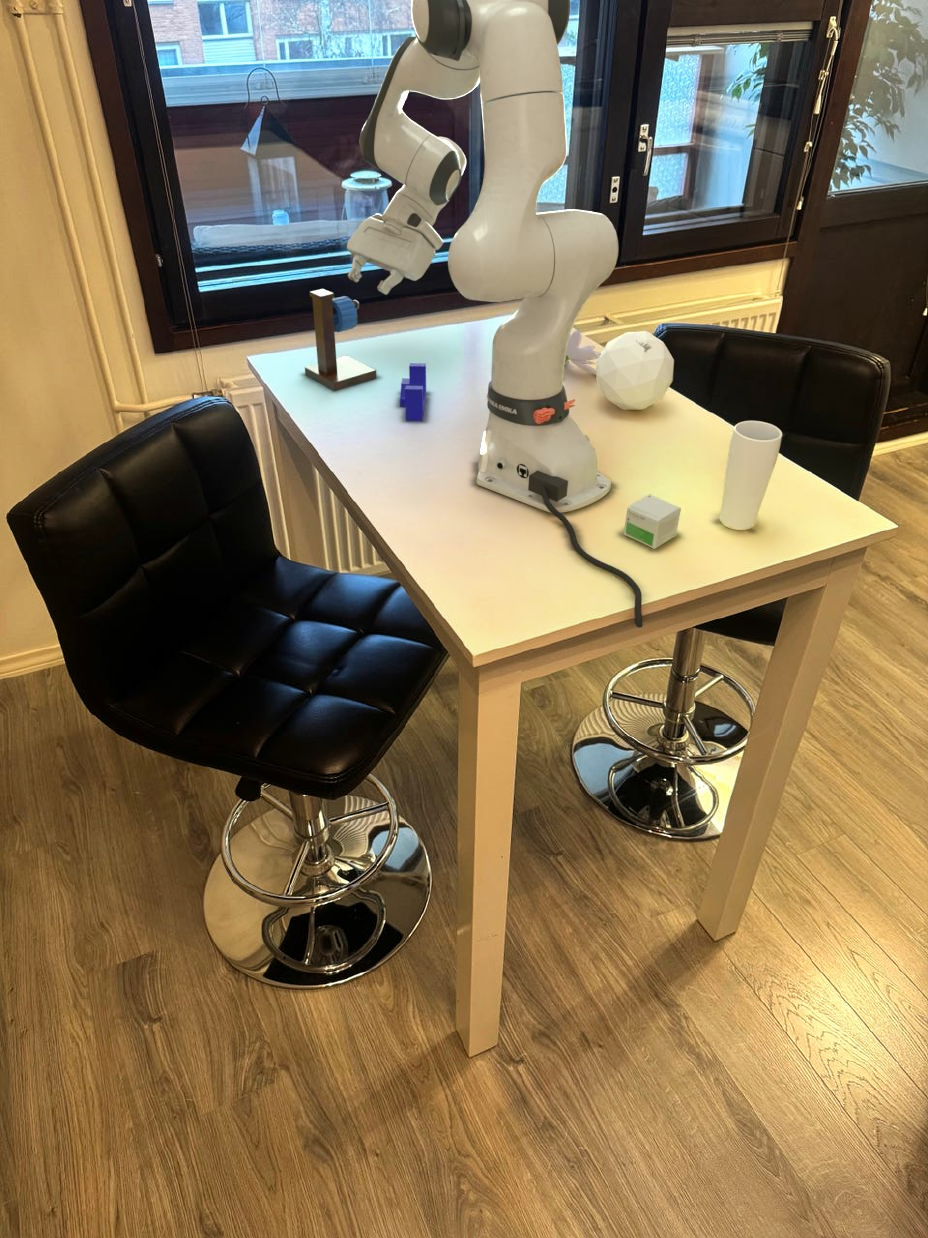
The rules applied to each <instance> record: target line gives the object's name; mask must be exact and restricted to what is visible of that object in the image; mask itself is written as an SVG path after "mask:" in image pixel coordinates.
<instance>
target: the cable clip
mask: <svg viewBox="0 0 928 1238" xmlns="http://www.w3.org/2000/svg"><path fill="white" fill-rule="evenodd" d="M408 368H409V370H408V372H409V373H408V374H409V375H408V376H409V378H408V377H407V378H403V377H402V378H401V382H400V394H399V397H400V398H399V407H400V408H405V422H424V421H423V420H424V414H425V407H426V399H427V362H426V363H425V362H424V363H423V362H409V366H408Z"/></svg>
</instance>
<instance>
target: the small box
mask: <svg viewBox="0 0 928 1238" xmlns="http://www.w3.org/2000/svg"><path fill="white" fill-rule="evenodd" d="M681 511H682V508H681V507H680V506H678V505H676V504H673V503H671V502H669V501H666V500H664V499H662V498H659V497H658V496H655V495H652V494H647V495H645V496H644V497H642V498H640V499H638V500H636V501H635V502H633V503H632V504H630V505H629V506H627V508H626V514H625V523H624V529H623V535H624V536H626V537H629V538H630V539H632V540H635V541H637V542H639V543H641V544H643V545H645V546H648V547H650V548H651V549H653V550H656V549H657V548H659V547H660V546H662V545H664V544H665V543H667V542H668V541H669V540H671V539H673V538H675V537H677V534H678V527H679V521H680V515H681Z"/></svg>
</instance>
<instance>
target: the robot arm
mask: <svg viewBox="0 0 928 1238" xmlns="http://www.w3.org/2000/svg"><path fill="white" fill-rule="evenodd" d="M410 13H411V21H412V25H413V29H414V34H415V36H408V37H407V38H406V39H405V40H404V41H403V42H402V43H401V44H400V45H399V47H398V48H397V49H396V51H395V53H394V55H393V56H392V58H391V60H390V63H389V64H388V67H387V69H386V72H385V75H384V77H383V80H382V82H381V85H380V87H379V90H378V93H377V96H376V98H375V101H374V104H373V106H372V109H371V111H370V114H369V115H368V116H367V117H368V118H367V119H366V121H365V123H364V124H363V127H362V129H361V132H360V136H359V139H358V140H359V141H358V143H359V148H360V151H361V154H362V157H363V159H364V161H365V163H367V164H368V165H370V166H372V167H374V168H376V169H378V170H380V171H382V172H384V173H385V174H387V175H389V176H391V177H392V178H393V179H395V180H396V181H398V182H399V183H401V184H402V186H401V188H399V189H398V190H397V191H396V192H395V194H394V196H393V197H392V198H391V200H390V202H389V203H388V205H387V206H386V208H385V209H384V211H383V213H382V214H381V213H375V214H373V215H371V216H369V217H367V218H365V219H364V220H363V221H362V222H361V223H360V225H359V226H358V227H357V228H356V229H355V231H354V232H353V233H352V235H351V236H350V238H349V240H348V241H347V242H346V250H347V251H348V252H349V253H350V254H351V255H352V256H353V258H352V263H351V269H350V271H349V272H348V274H347V277H348V279H349V280H350V281H351V282H354V283H358V282H359V281H360V279H361V278H362V277H363V275H362V273H361V271H362V267H363V268H364V267H365V266H366V264H367V263H368V264H370V265H372V266H375V267H378V268H380V269H383V270H385V271H387V272H389V276H387V277H386V279H384V280H380V282H379V284H378V285H377V287H376V289H377V290H378V291H379V292H380V293H381V294H382V295H388V294H389V293H390V292H391V290H392V289H393V288H394V287H395V286H397V285H398V284H400V283H401V282H402V281H403V279H404V278H405V279H408V280H411V281H414V282H416V281H418V280H419V279H421V278H422V277H423V276H424V274H425V273H426V271H427V270H428V269H429V267H430V265H431V263H433V262H432V261H433V260H434V258H435V256H436V251H438V250H440V249H441V248H442V246H443V244H444V240H443V239H442V238H441V236H440V234H438V233H437V231H436V230H435V229H434V227H433V226H434V225H435V223H436V220H437V217H438V215H439V213H440V211H441V210H442V209H443V208H444V207H446V205H447V204H448V202H450V200H451V199H452V198H453V196H454V195H455V193H456V192H457V189H458V187H459V185H460V184H461V180H462V176H463V174H464V171H465V169H466V166H467V158H466V155H465V154H464V152H463V150H462V148H461V147H460V146H459V145H458V144H457V143H456V142H455V141H453V140H452V139H450V138H448V137H445V136H436V135H435V134H433V133H431V132H430V131H428V130H427V129H425V128H424V127H423V126H421V125H419V124H418V123H417V122H415V121H413V120H412V119H411V118H409V117H408V116H407V115H406V113H405V112H404V110H403V106H404V104H405V101H406V100H407V98H408V95H409V92H415V93H419V94H422V95H426V96H429V97H432V98H434V99H435V98H436V99H439V100H453V99H458V98H461V97H464V96H466V95H467V94H469V93H471V92H472V91H473V90H474V89H476V87H478V85H479V93H480V104H481V116H482V130H483V141H484V142H483V145H484V146H483V147H484V172H483V180H482V184H481V189H480V192H479V195H478V199H477V201H476V203H475V206H474V208H473V210H472V211H471V214H470V215H469V216H468V218H467V219H466V220H465V222H464V223H463V225H461V227H460V228H458V230H457V231H456V233H455V234H454V236H453V237H452V240H451V241H450V245H449V249H448V253H447V254H448V255H447V268H448V273H449V276H450V279H451V282H452V283H453V285H454V287H455V289H457V291H458V292H459V293H460V294H461V296H463V297H464V298H465V299H467V300H469V301H479V302H490V303H493V302H494V303H501V302H508V301H515V300H516V301H517V300H522V302H521V304H520V305H519V307H518V308H517V309H516V311H515V312H514V313H512V315H511V316H509V317H508V318H507V319H505V321H504V322H502V323H501V324H500V326H498V327H497V329H496V331H495V333H494V336H493V339H492V345H491V346H492V348H491V375H490V376H491V378H490V381H489V382H488V387H487V393H486V400H487V401H486V404H487V405H486V406H487V409H488V417H487V423H486V428H485V429H486V430H485V431H483V436H482V441H481V447H480V458H479V460H478V462H477V469H478V470H477V471H478V474H477V476H476V481H475V482H476V485H477V486H480V487H483V488H485V489H488V490H490V491H493V492H495V493H498V494H501V495H503V496H505V497H507V498H511V499H513V500H516V501H519V502H521V503H523V504H526V505H529V506H532V507H533V508H536V509H538V510H541V511H544V512H547V513H550V514H551V515H553V516H554V517H556V519H558V520H559V521H560V522H561V523H562V525H563V526H564V527H565V529H566V531H567V533H568V535H569V539H570V543H571V546H572V548H573V549H574V551H575V552H576V553H577V554H578V555H579V556H580V557H581V558H582V559H583V560H585V561H586V562H588V563H589V564H591V565H592V566H595V567H598V568H599V569H601V570H604V571H606V572H608V573H610V574H612V575H614V576H616V577H618V578H619V579H621V580H623V581H624V582H625V583H627V585H628V586H629V587H630V588H631V589H632V591H633V594H634V619H635V620H634V621H635V622H634V623H635V626H636V627H637V628H639V629H640V628H643V615H642V600H643V599H642V597H643V595H642V590H641V588H640V586H639V585H638V584H637V583H636V582H635V580H634V579H633V577H631V576H630V575H628V574H627V573H626V572H624V571H622V570H620V569H619V568H617V567H615V566H613V565H610V564H608V563H606V562H603V561H602V560H599V559H597V558H596V557H594V556H592V555H590V554H589V553H587V552H586V551H585V550H584V549H583V548H582V547H581V546H580V544H579V542H578V539H577V535H576V532H575V529H574V526H573V525H572V524H571V522H570V521H569V519H567V517H566V516H565V515H564V514H563V513H568V512H573V511H577V510H580V509H582V508H585V507H587V506H589V505H592V504H594V503H596V502H597V501H599V500H601V499H602V498H603V497H605V496H606V495H607V494H609V492H610V490H611V487H612V480H611V479H609V478H608V477H607V476H605V475H604V474H603V473H601V472H600V471H598V469H599V468H598V467H599V465H598V454H597V450H596V449H595V447H594V446H593V444H592V443H591V441H590V438H589V436H588V435H586V434H585V433H583V431H582V430H581V429H580V426H578V424H577V423H576V422H575V421H574V419H573V418H572V416H571V415H570V409H571V408H573V407H575V406H576V405H575V404H574V403H575V402H576V399H574V398H573V399H570V400H568V397H567V396H568V395H567V392H566V389H565V385H564V373H565V366H566V364H565V358H566V351H567V345H568V340H569V337H570V334H572V330H573V327H574V326H575V323H576V321H577V320H578V319H577V318H578V317H579V314H580V313H581V311H582V309H583V307H584V306H585V304H586V303H587V301H588V299H589V298H590V297H591V296H592V295H593V293H594V292H595V291H596V289H597V288H599V287H600V285H601V284H602V283H604V282H605V281H606V280H608V279H609V277H610V276H611V275H612V273H613V271H614V270H615V267H616V264H617V261H618V257H619V239H618V234H617V231H616V229H615V226H614V225H613V223H612V221H610V219H609V218H608V217H607V215H605V214H603V213H600V212H594V211H591V210H590V211H589V210H582V209H574V208H573V209H562V210H553V211H552V210H551V211H543V212H537V204H538V203H537V202H538V198H539V195H540V192H541V189H542V187H543V185H544V184H545V183H547V181H549V180H550V179H552V178H553V177H554V176H556V174H557V173H558V172H559V171H560V170H561V168H562V167H563V165H564V164H565V161H566V159H567V153H568V142H567V140H568V139H567V127H566V125H567V124H566V109H565V95H564V83H563V75H562V74H563V73H562V65H561V59H560V53H559V47H558V45H559V44H560V43H561V41H562V39H563V38H564V36H565V34H566V32H567V30H568V26H569V22H570V14H571V0H411V7H410Z"/></svg>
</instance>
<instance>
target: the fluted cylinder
mask: <svg viewBox="0 0 928 1238" xmlns="http://www.w3.org/2000/svg"><path fill="white" fill-rule="evenodd" d="M332 304H333V307H334V308H335V309H336V310H337V312H338V313H335V314H333V318H334V333H341V332H345V331H349V330H352V329H354V328H356V326H357V324H358V314H357V313H358V311H357V310H358V309H357V310H356V308H355V305H354V303H353V302H352V299H351V298H350V297H349V296H345V295H343V296H340V297H334V298H332Z"/></svg>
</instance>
